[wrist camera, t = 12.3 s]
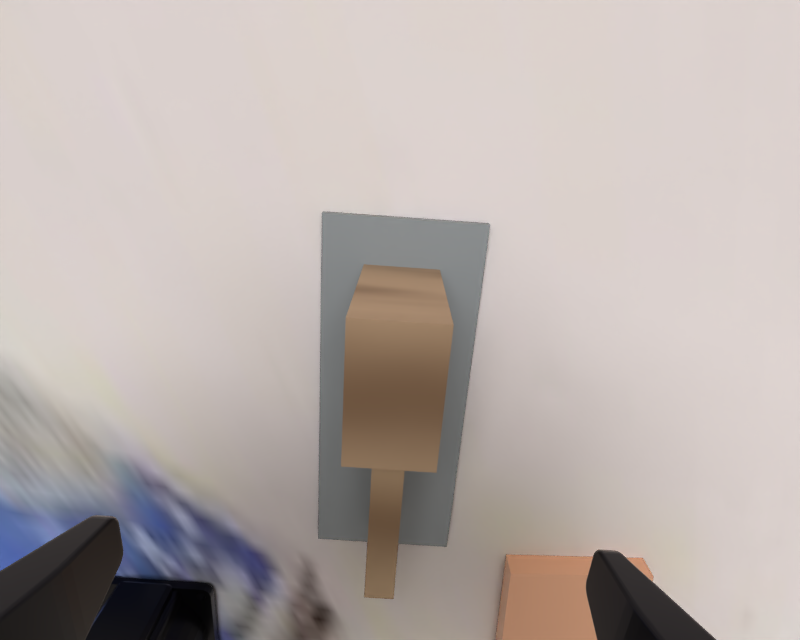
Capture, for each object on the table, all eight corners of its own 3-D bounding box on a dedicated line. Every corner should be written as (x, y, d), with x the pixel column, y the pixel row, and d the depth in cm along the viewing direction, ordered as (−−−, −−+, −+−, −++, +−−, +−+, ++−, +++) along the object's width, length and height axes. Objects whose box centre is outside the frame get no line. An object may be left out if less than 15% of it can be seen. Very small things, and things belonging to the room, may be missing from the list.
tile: (638, 550, 25) (615, 644, 28) (504, 547, 25) (492, 641, 28) (653, 576, 24) (627, 673, 26) (510, 573, 24) (497, 670, 26)
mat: (446, 540, 24) (446, 546, 24) (319, 532, 24) (318, 538, 24) (488, 223, 19) (489, 225, 18) (323, 211, 19) (321, 212, 18)
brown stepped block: (413, 526, 24) (416, 648, 18) (352, 522, 24) (335, 643, 18) (439, 269, 19) (453, 325, 13) (363, 264, 19) (345, 317, 13)
